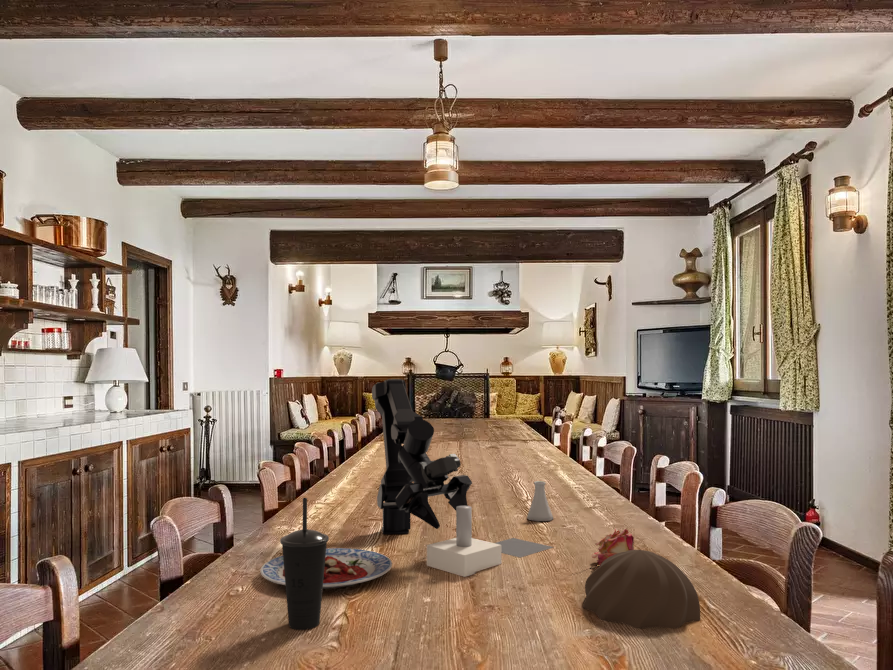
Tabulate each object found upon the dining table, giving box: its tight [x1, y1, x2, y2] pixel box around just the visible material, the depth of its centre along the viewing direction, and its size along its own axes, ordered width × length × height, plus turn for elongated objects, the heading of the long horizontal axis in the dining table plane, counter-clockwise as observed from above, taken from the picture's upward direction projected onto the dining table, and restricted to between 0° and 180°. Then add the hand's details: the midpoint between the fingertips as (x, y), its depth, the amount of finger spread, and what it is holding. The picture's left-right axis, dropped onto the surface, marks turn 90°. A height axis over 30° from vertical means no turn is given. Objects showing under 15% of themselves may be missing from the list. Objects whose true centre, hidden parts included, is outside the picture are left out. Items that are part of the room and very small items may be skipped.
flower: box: [591, 527, 635, 566], centre depth 139 cm, size 10×9×8 cm
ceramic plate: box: [259, 547, 393, 590], centre depth 135 cm, size 26×26×3 cm
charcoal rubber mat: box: [494, 537, 554, 558], centre depth 154 cm, size 12×12×1 cm
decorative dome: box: [582, 549, 701, 630], centre depth 116 cm, size 19×20×10 cm
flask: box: [526, 481, 554, 522], centre depth 185 cm, size 7×7×10 cm
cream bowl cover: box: [426, 505, 502, 578], centre depth 141 cm, size 11×11×12 cm
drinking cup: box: [279, 497, 329, 631], centre depth 109 cm, size 8×8×20 cm
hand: (454, 523), depth 144 cm, fingers open, 9 cm apart
